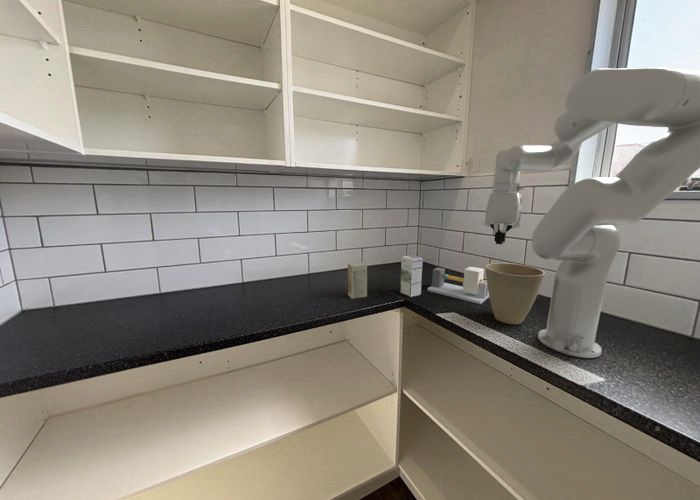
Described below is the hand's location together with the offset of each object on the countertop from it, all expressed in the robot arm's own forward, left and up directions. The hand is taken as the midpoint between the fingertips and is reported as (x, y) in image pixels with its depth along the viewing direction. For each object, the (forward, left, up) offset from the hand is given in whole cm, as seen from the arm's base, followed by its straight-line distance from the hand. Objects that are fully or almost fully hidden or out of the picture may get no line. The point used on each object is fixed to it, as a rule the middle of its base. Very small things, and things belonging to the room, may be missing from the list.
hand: (499, 243), depth 94 cm
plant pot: (-13, -8, -21) cm, 26 cm away
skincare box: (-30, +38, -21) cm, 53 cm away
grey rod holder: (0, +12, -21) cm, 24 cm away
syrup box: (-14, +25, -21) cm, 36 cm away
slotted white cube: (0, +7, -19) cm, 20 cm away
